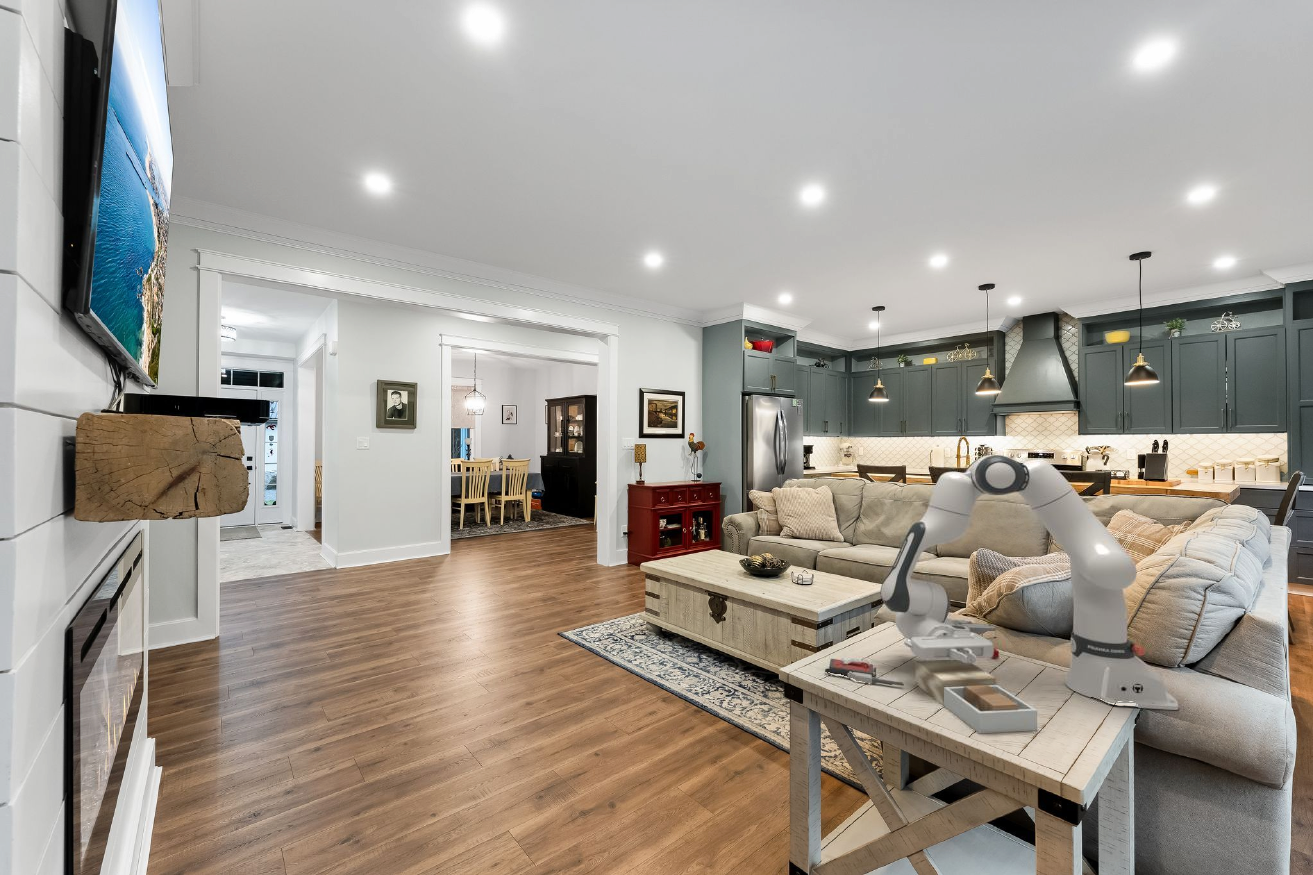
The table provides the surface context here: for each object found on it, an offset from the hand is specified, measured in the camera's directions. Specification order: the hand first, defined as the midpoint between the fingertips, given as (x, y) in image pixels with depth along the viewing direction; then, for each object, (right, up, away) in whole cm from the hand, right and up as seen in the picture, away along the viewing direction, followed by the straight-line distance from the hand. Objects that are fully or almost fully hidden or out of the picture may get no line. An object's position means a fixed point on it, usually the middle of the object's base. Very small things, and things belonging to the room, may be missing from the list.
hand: (971, 659), depth 140 cm
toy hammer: (+21, -11, +43) cm, 50 cm away
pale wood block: (-1, -11, +6) cm, 13 cm away
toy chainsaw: (-21, -11, +15) cm, 28 cm away
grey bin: (+1, -11, -6) cm, 13 cm away
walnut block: (0, -8, -2) cm, 8 cm away
